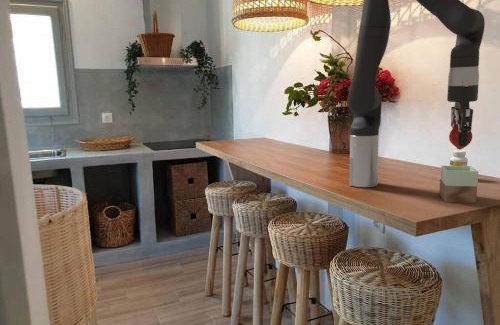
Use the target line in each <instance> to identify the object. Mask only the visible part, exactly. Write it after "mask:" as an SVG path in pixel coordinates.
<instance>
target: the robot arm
mask: <svg viewBox="0 0 500 325" xmlns="http://www.w3.org/2000/svg"><path fill="white" fill-rule="evenodd" d="M416 2H417V3H418V4H420V6H421V7H423V8H424V9H426V10H427V11H428V12H429V13H430V14H432V15H434V16H435V17H436V18H437V19H438V21H440V23H442V25H443V26H444V27H445V28H446V29H447V30H449V31H450V32H451V33H453V34H454V35H456V39H455V45H454V47H453V48H451V51H450V54H449V56H450V59H449V72H448V78H447V79H448V80H447V94H446V95H447V96H446V97H447V98H446V100H447V102H450V103H454V106H451V108H450V110H451V111H450V112H451V113H450V116H451V117H450V119H451V121H450V127H451V130H452V129H453V128H454V127H456V126H457V125H458V131H459V134H458V145H459V146H466V147H467V146H468V145H467V142H468V133H467V132H469V131H471V132H472V130H473V129H472V124H473V117H474V115H473V114H474V109H473V108H471V107H470V102H476V101H478V99H479V98H478V97H479V83H480V82H479V81H480V71H479V66H480V49H481V48H480V47H481V46H482V45H481V44H482V40H483V37H484V32H485V27H486V26H485V24H486V22H485V17H484V14H483V13H482V11H480V10H478V9H474V8H472V7H469V6H468V5H467V4H465V3H464V2H463V1H461V0H416ZM362 3H363V4H362V10H361V18H360V24H359V28H358V29H359V30H358V36H357V43H356V44H357V46H356V52H355V60H354V61H355V62H354V70H353V75H352V79H351V82H350V87H349V91H348V95H347V105H348V109H349V110H350V111H351V113H353V120H352V123H351V126H350V129H349V187H356V188H357V187H358V188H374V187H377V186H378V184H379V183H378V180H379V179H378V178H379V176H378V175H379V142H380V141H379V140H380V139H379V138H380V137H379V133H380V132H379V131H380V126H381V123H382V122H381V121H382V120H381V119H382V96H381V93H380V91H379V90H378V89H377V88H376V83H377V75H378V72H379V71H378V70H379V68H380V65H381V62H382V61H383V58H384V56H385V53H386V49H387V47H388V42H389V37H390V32H391V24H392V23H391V22H392V19H391V16H392V15H391V10H390V5H389V4H390V2H389V0H363V2H362ZM464 125H465V127H463V126H464Z"/></svg>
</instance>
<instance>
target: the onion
mask: <svg viewBox="0 0 500 325" xmlns="http://www.w3.org/2000/svg"><path fill="white" fill-rule="evenodd" d="M465 126H466V125H464V126H463V127H465ZM467 133H468V142H467V146H469V144H471V142H472V140H473V131H472V130H471V131H469V132H467ZM458 134H459V131H458V125H457V126H456V127H454V128H453V129H452V128H451V130H450V132H449V133H448V139H449V142H450V143H451V144H452V146H454V147H455V148H456V150H464V148H466V147H467V146H459V145H458Z"/></svg>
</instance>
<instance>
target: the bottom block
mask: <svg viewBox="0 0 500 325" xmlns="http://www.w3.org/2000/svg"><path fill="white" fill-rule="evenodd" d="M438 192H439V196H440V198H441V199H442V200H443V201H444V203H462V204H463V203H466V204H467V203H470V204H476V203H477V197H478V186H446V185H445V184H444V183H443V181H442V180H441V178H440V179H439V191H438Z"/></svg>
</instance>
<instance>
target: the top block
mask: <svg viewBox="0 0 500 325" xmlns="http://www.w3.org/2000/svg"><path fill="white" fill-rule="evenodd" d="M440 168H441V170H440V179H441V180H442V181H443V183H444V184H445V185H446V186H477V187H478V184H479V183H478V182H479V170H477V169H475V167H473V166H472V165H467V166H450V165H441V167H440Z"/></svg>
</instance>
